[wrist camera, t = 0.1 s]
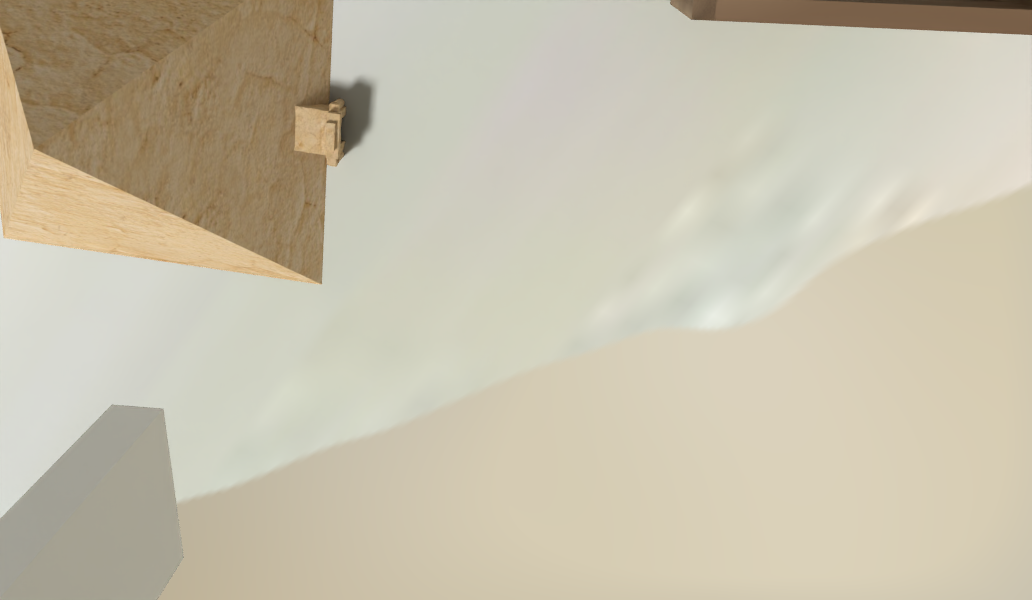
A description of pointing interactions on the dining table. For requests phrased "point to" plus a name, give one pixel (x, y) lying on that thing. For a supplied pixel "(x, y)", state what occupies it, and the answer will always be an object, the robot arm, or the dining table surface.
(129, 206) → the model pyramid
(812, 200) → the dining table surface
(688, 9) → the open wooden shelf
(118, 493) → the robot arm
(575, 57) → the dining table surface
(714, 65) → the dining table surface
